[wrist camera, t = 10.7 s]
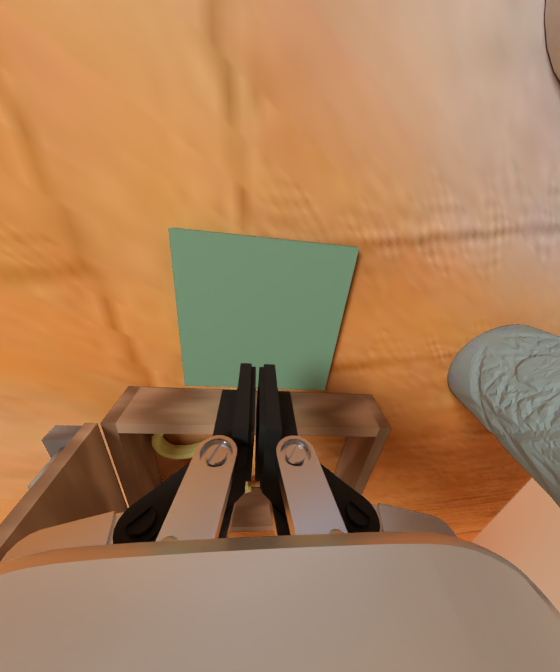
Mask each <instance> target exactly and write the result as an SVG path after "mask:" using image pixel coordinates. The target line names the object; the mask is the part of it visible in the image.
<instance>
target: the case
mask: <svg viewBox="0 0 560 672" xmlns="http://www.w3.org/2000/svg"><path fill="white" fill-rule="evenodd" d="M221 393H222V390H219V389H190V388H160V387H131V386H128V388H127V389H126V390H125V392H124V393H123V394H122V396H121V397H120V398H119V400H118V401H117V402H116V403H115V405H114V406H113V407H112V409H111V410H110V411H109V413H108V414H107V415H106V417H105V418H104V419H103V420H102V422H101V423H100V424H101V426H102V429H103V432H104V435H105V438H106V441H107V444H108V447H109V449H110V452H111V455H112V458H113V461H114V464H115V467H116V470H117V473H118V475H119V478H120V481H121V484H122V487H123V490H124V493H125V496H126V498H127V501H128V504H129V507H130V506H131V505H132V504H134V503H135V502H137V501H138V500H139V499H141V498H142V497H143V496H145V495H146V494H148V493H149V492H150V491H152V490H153V489H154V488H156V487H157V486H159V485H160V484H161V478H160V474H159V469H158V465H157V460H156V455H155V451H154V448H153V447H152V437H151V434H213V431H214V427H215V422H216V417H217V412H218V408H219V403H220V398H221ZM257 393H258V391H256V393H255V432H254V435H256V406H257ZM290 394H291V399H292V404H293V410H294V416H295V421H296V427H297V433H298V436H347V438H346V441H345V444H344V447H343V450H342V453H341V456H340V459H339V462H338V465H337V468H336V471H335V474H334V475H336V476H337V477H338V478H340V479H341V480H342V481H343V482H345V483H346V484H347V485H349V486H350V487H351V488H353V489H354V490H355V491H356V492H358V493H359V494H360V495H362V492H363V490H364V488H365V486H366V484H367V481H368V479H369V477H370V475H371V473H372V470H373V468H374V466H375V464H376V461H377V459H378V457H379V455H380V453H381V450H382V448H383V446H384V444H385V442H386V439H387V437H388V435H389V433H390V431H391V427H390V425H389V423H388V422H387V420H386V418H385V417H384V415H383V413H382V412H381V410H380V408H379V407H378V405H377V403H376V402H375V400H374V398H373V397H372V395H367V394H337V393H308V392H290ZM42 442H43V444H44V445H45V447H46V449H47V451H48V453H49V455H50V457H51V459H50V461H49V462H48V463H47V464H46V465H45V467H44V468H43V469H42V470H41V471H40V472H39V474H38V475H37V476H36V477H35V478H34V479H33V481H32V482H31V483H30V484H29V485H28V488H29V491H28V492H27V493H26V494H25V495H24V497H23V498H22V499H21V500H20V501H19V503H18V504H17V505H16V506H15V507H14V509H13V510H12V511H11V512H10V513H9V515H8V516H7V517H6V518H5V519H4V521H3V522H2V523H1V524H0V562H1V560H2V559H3V557H4V556H5V555H6V553H7V552H8V551H9V550H10V549H11V548H12V547H13V546H14V545H15V544H16V543H18V542H19V541H20V540H22V539H23V538H25V537H26V536H28V535H29V534H32V533H34V532H36V531H39V530H41V529H45V528H49V527H53V526H57V525H61V524H65V523H69V522H73V521H77V520H81V519H85V518H88V517H92V516H96V515H100V514H104V513H108V512H112V511H115V513H116V514H117V513H121V512H125V511H126V510H127V509H128V508H127V505H126V502H125V500H124V497H123V494H122V491H121V488H120V485H119V483H118V480H117V477H116V474H115V471H114V469H113V466H112V463H111V460H110V457H109V454H108V452H107V449H106V446H105V443H104V440H103V438H102V435H101V432H100V429H99V426H98V424H97V423H85V424H84V425H83V426H60V425H56V426H55V427H54V428H53V429H52V430H51V431H50V432H49V433H48V434H47V435H46V436H45V437H44V438H43V439H42ZM249 531H274V530H273V524H272V518H271V512H270V506H269V499H268V498H267V497H266V496H265V495H264V494H263V493H262V490H260V487H254V488H252V490H251V492H248V493H245V494H243V495H242V496H241V497H240V498H239V499H238V500H237V501H236V503H235V510H234V515H233V519H232V524H231V528H230V532H249Z"/></svg>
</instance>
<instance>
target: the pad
mask: <svg viewBox="0 0 560 672" xmlns="http://www.w3.org/2000/svg"><path fill="white" fill-rule="evenodd" d="M168 229H169V239H170V248H171V258H172V267H173V277H174V286H175V296H176V305H177V315H178V324H179V334H180V343H181V353H182V362H183V372H184V381H185V385H186V386H215V387H238V381H239V373H240V365H241V363H251V364H252V367H256V388H258V379H259V367H264V364H275V369H276V378H277V388H278V389H300V390H325V387H326V383H327V379H328V375H329V371H330V366H331V362H332V358H333V354H334V350H335V346H336V342H337V338H338V333H339V329H340V325H341V321H342V317H343V313H344V309H345V305H346V301H347V296H348V292H349V288H350V284H351V280H352V276H353V272H354V268H355V264H356V259H357V255H358V251H359V248H357V247H354V246H344V245H335V244H325V243H315V242H306V241H296V240H287V239H277V238H267V237H258V236H248V235H238V234H229V233H219V232H210V231H200V230H190V229H181V228H168Z"/></svg>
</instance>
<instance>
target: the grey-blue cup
mask: <svg viewBox="0 0 560 672" xmlns="http://www.w3.org/2000/svg"><path fill="white" fill-rule="evenodd" d="M448 385H449V387H450V390H451V391H452V393H453V394H454V395H455V396H456V397H457V398H458V399H459V400H460V402H461V403H462V404H463V405H464V406H466V407H467V408H468V409H469V410H470V411H471V412H472V414H473V415H474V416H475V417H476V418H477V419H478V420H479V421H480V422H481V423H482V424H483V426H484V427H485V428H486V429H487V430H488V431H490V432H491V433H493V434H494V435H495V436H496V438H497V439H498V441H499V443H500V444H501V445H502V446H503V447H504V448H505V449H506V450H507V451H508V452H509V453H510V454H511V455H512V457H513V458H514V459H515V460H516V461H517V462H518V463H519V464H520V465H521V466H522V467H523V468H524V469H525V470H526V471H527V472H528V473H529V474H530V475H531V476H532V477H533V478H534V479H535V481H537V483H538V484H539V485H540V486H541V487H542V488H543V489H544V490H545V491H546V492H547V493H548V494H549V495H550V496H551V497H552V499H553V500H554V501H555V502H556V503H557V505H558V506H559V507H560V337H559V336H556V335H553V334H550V333H548V332H545V331H542V330H539V329H536V328H533V327H530V326H527V325H520V324H517V325H513V324H512V325H507V326H501V327H498V328H495V329H491V330H490V331H487V332H485V333H483V334H481V335H479V336H477V337H476V338H474V339H473V340H472V341H470V342H469V343H468V344H467V345H466V346H465V347H464V348H463V349H462V350H461V351H460V352H459V353H458V354H457V355H456V357H455V358H454V360H453V362H452V363H451V365H450V368H449V372H448Z"/></svg>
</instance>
